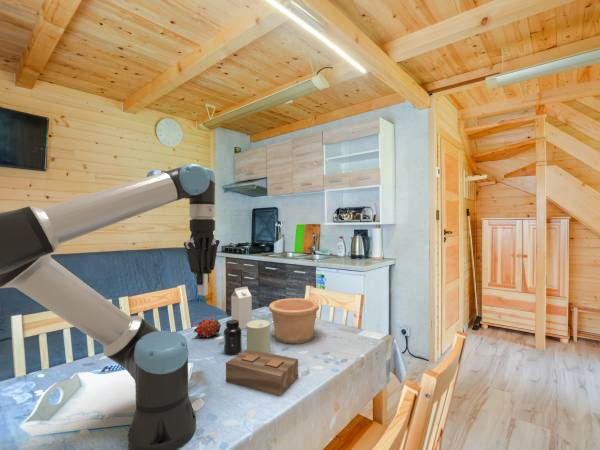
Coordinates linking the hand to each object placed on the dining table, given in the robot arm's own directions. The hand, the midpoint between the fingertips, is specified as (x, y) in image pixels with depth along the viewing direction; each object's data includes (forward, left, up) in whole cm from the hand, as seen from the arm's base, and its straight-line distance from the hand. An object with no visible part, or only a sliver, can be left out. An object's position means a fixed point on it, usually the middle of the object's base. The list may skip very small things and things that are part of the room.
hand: (202, 294), depth 97 cm
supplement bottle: (+24, +8, -29) cm, 39 cm away
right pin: (+11, -19, -29) cm, 36 cm away
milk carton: (+49, +22, -29) cm, 61 cm away
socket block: (+11, -14, -29) cm, 34 cm away
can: (+27, -2, -29) cm, 40 cm away
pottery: (+48, -7, -29) cm, 57 cm away
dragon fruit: (+32, +28, -29) cm, 51 cm away
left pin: (+11, -10, -29) cm, 32 cm away
